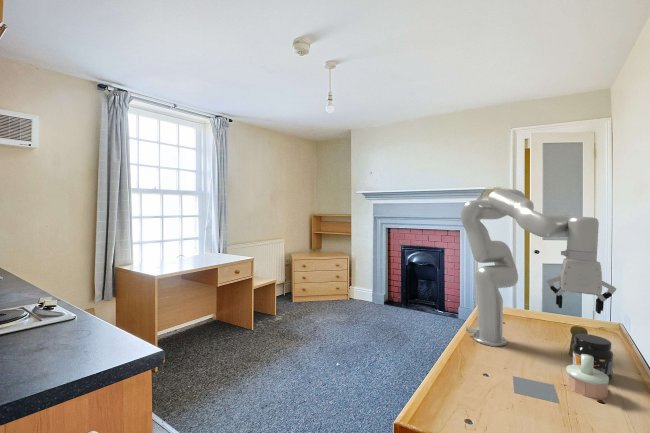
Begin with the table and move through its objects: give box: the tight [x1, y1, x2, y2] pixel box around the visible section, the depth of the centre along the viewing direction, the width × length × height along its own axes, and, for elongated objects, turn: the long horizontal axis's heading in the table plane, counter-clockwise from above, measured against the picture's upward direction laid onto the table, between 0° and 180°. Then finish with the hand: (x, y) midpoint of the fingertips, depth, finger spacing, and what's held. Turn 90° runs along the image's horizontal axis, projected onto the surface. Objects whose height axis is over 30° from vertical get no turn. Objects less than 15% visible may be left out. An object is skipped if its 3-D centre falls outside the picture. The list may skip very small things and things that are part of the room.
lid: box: [565, 354, 610, 385], centre depth 98 cm, size 10×10×6 cm
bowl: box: [566, 373, 609, 400], centre depth 98 cm, size 9×9×5 cm
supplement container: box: [571, 333, 614, 381], centre depth 108 cm, size 10×10×12 cm
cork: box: [568, 325, 589, 358], centre depth 122 cm, size 6×6×11 cm
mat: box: [512, 375, 560, 404], centre depth 98 cm, size 11×11×1 cm
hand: (578, 309), depth 102 cm, fingers open, 9 cm apart
